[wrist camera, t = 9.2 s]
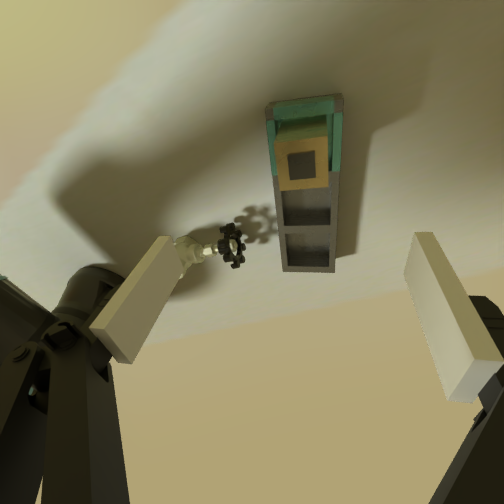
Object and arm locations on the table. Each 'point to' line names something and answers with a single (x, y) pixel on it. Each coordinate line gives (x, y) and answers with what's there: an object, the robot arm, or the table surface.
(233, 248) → the valve
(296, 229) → the divided tray
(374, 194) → the table surface
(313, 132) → the hollow square tube
